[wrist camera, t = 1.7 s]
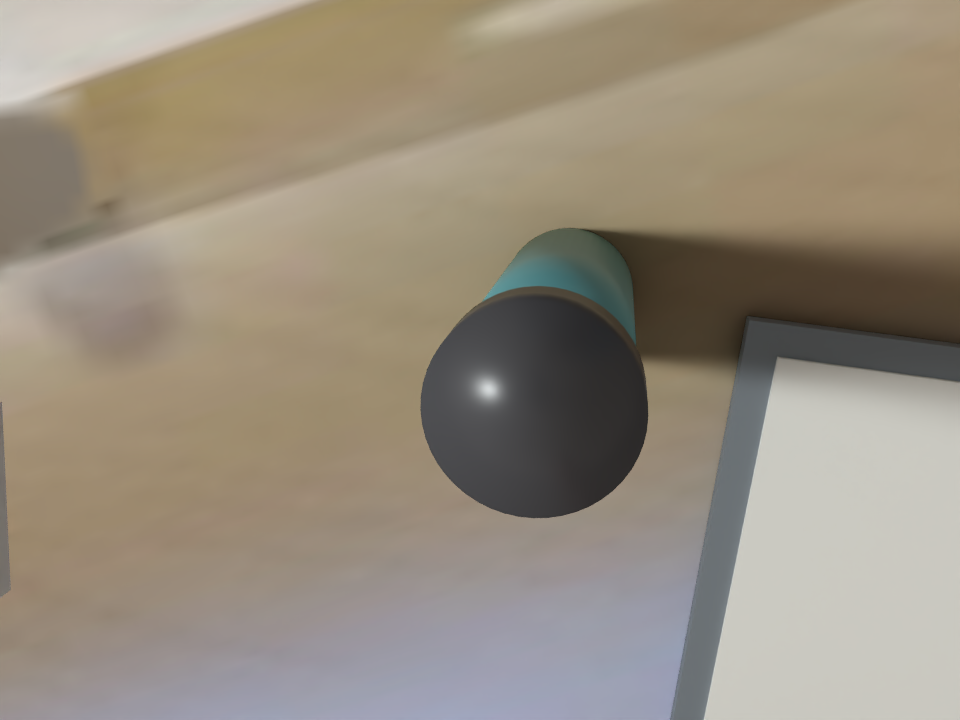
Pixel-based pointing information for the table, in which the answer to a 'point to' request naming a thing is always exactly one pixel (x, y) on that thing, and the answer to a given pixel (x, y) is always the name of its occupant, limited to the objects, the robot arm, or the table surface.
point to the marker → (542, 382)
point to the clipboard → (831, 534)
